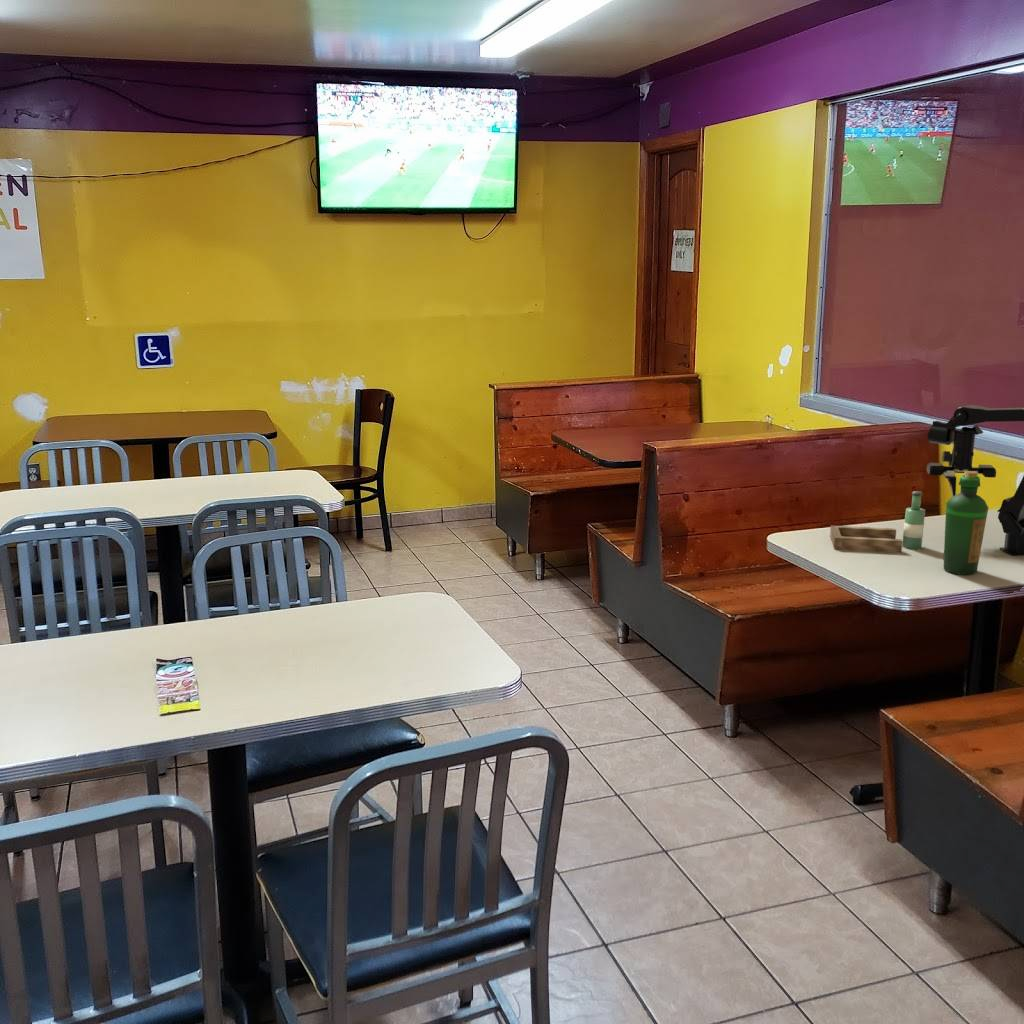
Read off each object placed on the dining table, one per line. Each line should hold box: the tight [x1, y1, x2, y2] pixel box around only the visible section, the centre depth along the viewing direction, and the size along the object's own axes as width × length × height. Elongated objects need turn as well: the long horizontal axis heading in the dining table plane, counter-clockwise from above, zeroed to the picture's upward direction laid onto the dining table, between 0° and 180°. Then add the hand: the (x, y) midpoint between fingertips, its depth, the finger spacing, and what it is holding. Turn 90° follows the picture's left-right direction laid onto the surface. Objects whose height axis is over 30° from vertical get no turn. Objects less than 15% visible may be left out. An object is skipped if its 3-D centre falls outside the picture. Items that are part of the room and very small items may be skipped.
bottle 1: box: [902, 490, 926, 550], centre depth 304 cm, size 6×6×17 cm
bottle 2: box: [943, 471, 989, 576], centre depth 280 cm, size 11×11×28 cm
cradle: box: [829, 525, 903, 554], centre depth 309 cm, size 19×14×4 cm
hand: (958, 497), depth 311 cm, fingers closed
